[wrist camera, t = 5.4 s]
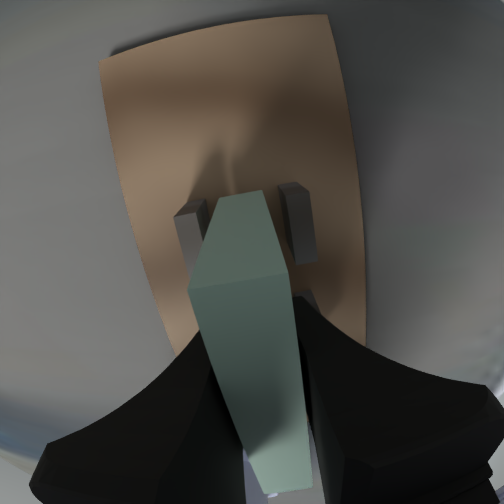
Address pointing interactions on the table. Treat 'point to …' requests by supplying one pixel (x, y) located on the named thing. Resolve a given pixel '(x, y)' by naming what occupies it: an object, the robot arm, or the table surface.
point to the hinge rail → (240, 157)
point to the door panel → (254, 339)
